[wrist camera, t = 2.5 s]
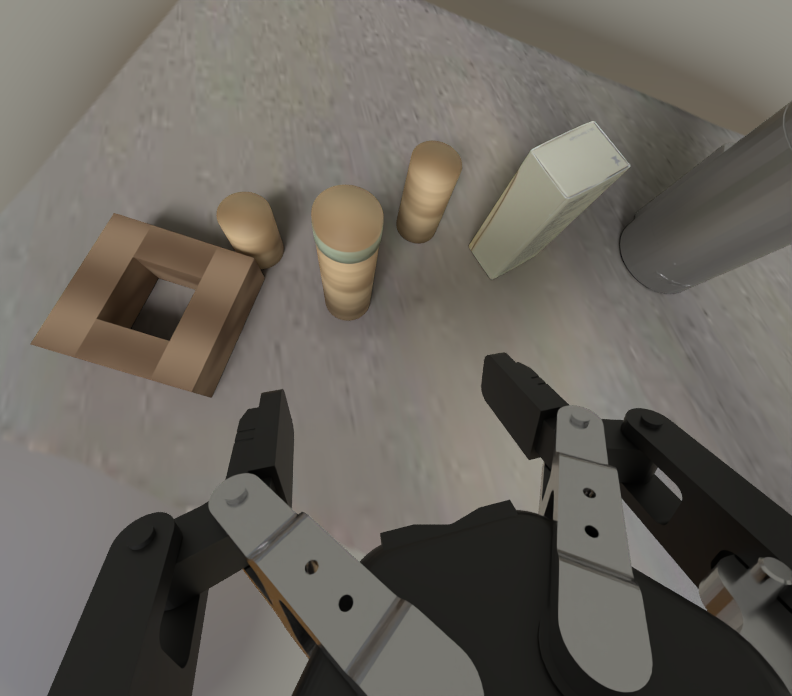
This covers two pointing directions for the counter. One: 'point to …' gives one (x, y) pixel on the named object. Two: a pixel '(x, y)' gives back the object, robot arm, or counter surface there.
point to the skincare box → (547, 196)
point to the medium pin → (427, 190)
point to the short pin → (251, 228)
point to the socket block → (128, 291)
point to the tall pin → (347, 247)
